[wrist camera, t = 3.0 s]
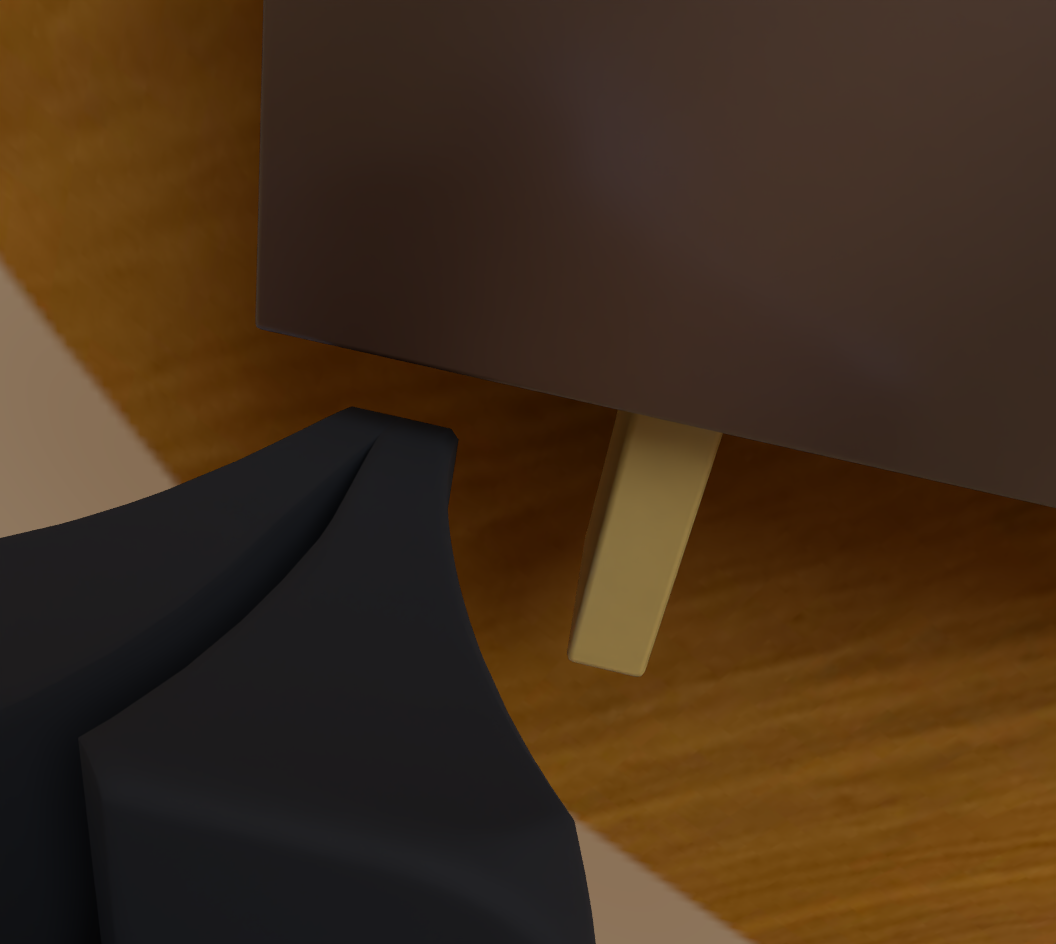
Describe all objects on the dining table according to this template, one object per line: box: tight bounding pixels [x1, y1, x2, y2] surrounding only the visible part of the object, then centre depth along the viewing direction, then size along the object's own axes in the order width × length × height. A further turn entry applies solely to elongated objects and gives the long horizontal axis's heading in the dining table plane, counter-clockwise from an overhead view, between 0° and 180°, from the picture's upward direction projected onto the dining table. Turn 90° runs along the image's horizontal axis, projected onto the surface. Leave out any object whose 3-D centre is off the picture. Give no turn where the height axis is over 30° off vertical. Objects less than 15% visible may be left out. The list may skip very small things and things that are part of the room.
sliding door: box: [567, 410, 723, 677], centre depth 12 cm, size 7×5×4 cm
